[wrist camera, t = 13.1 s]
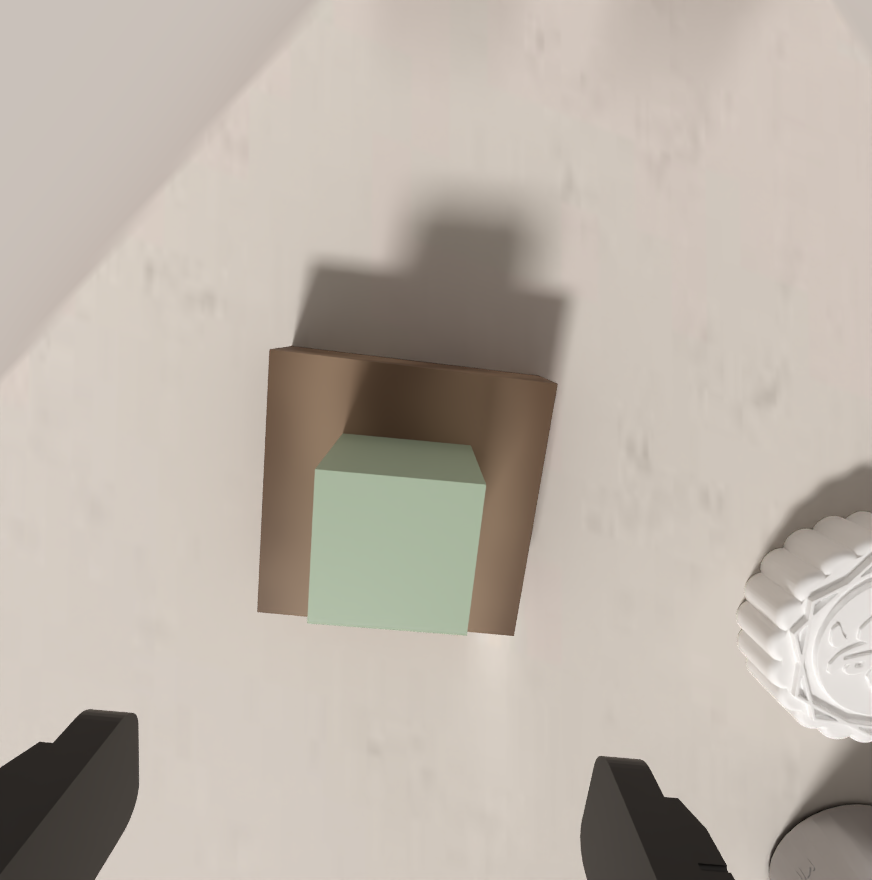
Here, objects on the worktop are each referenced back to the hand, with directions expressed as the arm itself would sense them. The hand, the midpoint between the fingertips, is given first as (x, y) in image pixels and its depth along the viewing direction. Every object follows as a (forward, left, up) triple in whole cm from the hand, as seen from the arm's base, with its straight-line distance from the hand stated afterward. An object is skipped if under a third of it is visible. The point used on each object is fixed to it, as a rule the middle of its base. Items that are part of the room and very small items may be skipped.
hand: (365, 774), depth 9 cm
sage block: (0, 0, -14) cm, 14 cm away
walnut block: (0, 0, -18) cm, 18 cm away
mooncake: (-25, +5, -18) cm, 31 cm away
